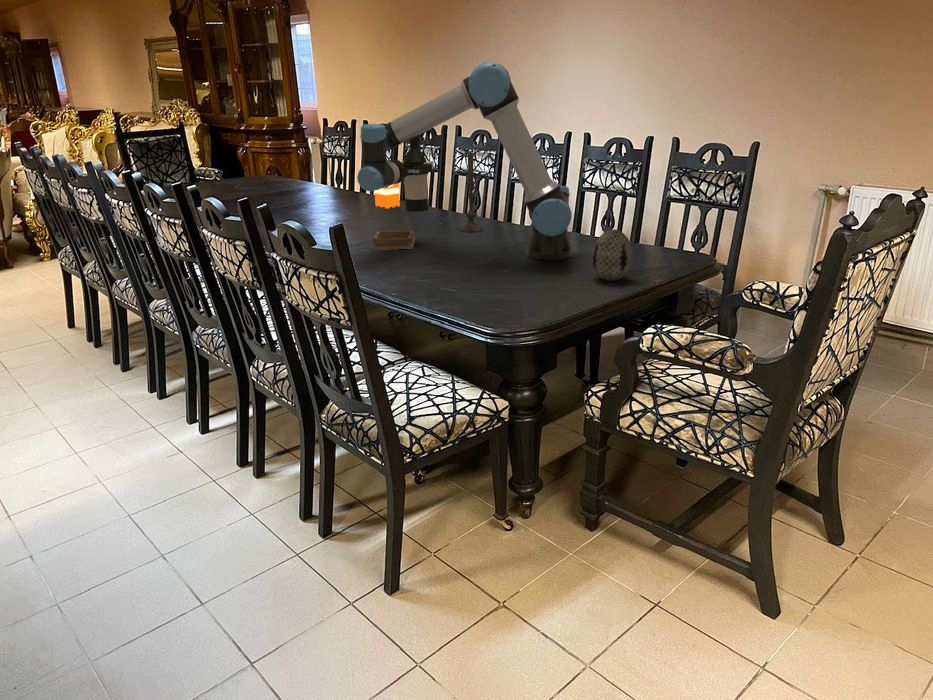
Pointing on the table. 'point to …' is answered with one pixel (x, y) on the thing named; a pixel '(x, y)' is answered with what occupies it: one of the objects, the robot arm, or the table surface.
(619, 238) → the decorative egg
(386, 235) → the wooden crate
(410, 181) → the wine bottle
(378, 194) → the orange juice
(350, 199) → the table surface
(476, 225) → the candlestick holder
